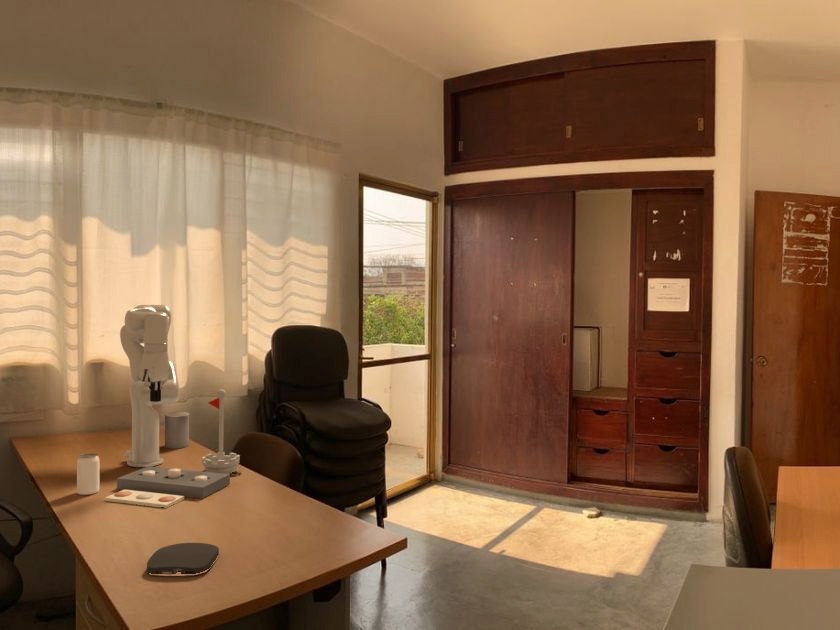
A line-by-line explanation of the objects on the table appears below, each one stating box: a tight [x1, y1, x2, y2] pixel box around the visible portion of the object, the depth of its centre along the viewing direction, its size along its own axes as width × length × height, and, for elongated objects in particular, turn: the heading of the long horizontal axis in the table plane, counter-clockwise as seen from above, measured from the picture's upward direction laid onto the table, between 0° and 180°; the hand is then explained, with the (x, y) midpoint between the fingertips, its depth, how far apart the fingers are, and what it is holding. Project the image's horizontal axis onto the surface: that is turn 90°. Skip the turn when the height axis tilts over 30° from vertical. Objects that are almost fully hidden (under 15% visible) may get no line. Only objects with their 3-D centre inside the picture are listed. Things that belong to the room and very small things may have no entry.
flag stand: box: [201, 388, 241, 474], centre depth 239 cm, size 13×13×30 cm
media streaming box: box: [146, 542, 220, 574], centre depth 158 cm, size 15×15×3 cm
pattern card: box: [104, 489, 185, 509], centre depth 205 cm, size 22×9×1 cm, turn 75°
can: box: [76, 452, 100, 496], centre depth 211 cm, size 6×6×12 cm
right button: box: [194, 476, 207, 482], centre depth 216 cm, size 4×4×3 cm
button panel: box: [116, 466, 231, 499], centre depth 219 cm, size 32×16×4 cm, turn 75°
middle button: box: [168, 468, 182, 479], centre depth 219 cm, size 4×4×3 cm
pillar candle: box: [164, 411, 190, 449], centre depth 276 cm, size 10×10×15 cm
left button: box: [142, 470, 155, 476], centre depth 221 cm, size 4×4×3 cm
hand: (155, 401), depth 227 cm, fingers closed
